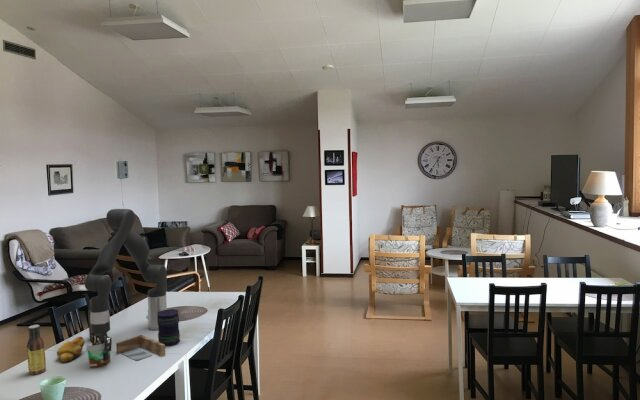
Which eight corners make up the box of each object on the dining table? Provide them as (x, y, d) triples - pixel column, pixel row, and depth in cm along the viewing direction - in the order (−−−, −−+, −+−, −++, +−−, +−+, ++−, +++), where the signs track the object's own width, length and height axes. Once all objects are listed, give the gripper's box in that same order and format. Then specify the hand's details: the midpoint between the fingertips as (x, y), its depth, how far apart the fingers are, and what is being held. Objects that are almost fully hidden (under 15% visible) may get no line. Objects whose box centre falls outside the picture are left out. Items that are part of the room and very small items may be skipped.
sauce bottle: (33, 369, 198) (30, 323, 197) (49, 368, 199) (46, 322, 197) (25, 376, 192) (22, 328, 190) (41, 375, 192) (38, 328, 191)
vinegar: (108, 338, 233) (105, 298, 232) (96, 342, 227) (94, 302, 225) (98, 336, 236) (96, 297, 234) (86, 340, 230) (84, 300, 228)
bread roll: (72, 363, 203) (71, 345, 203) (50, 364, 203) (48, 346, 203) (87, 351, 216) (86, 334, 216) (66, 352, 216) (65, 335, 216)
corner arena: (116, 353, 213) (116, 342, 213) (141, 345, 223) (141, 334, 222) (139, 364, 201) (139, 353, 200) (165, 355, 210) (164, 344, 210)
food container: (100, 370, 196) (98, 347, 195) (87, 369, 197) (86, 346, 196) (119, 358, 208) (118, 336, 207) (107, 357, 209) (105, 335, 208)
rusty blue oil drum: (184, 340, 228) (182, 310, 227) (171, 347, 219) (170, 316, 218) (167, 338, 231) (165, 308, 230) (153, 345, 222) (152, 314, 221)
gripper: (83, 319, 203) (85, 357, 204) (99, 326, 194) (101, 365, 195) (100, 315, 209) (102, 351, 210) (117, 321, 200) (118, 359, 201)
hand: (102, 358), depth 203 cm, fingers closed on food container, 6 cm apart
